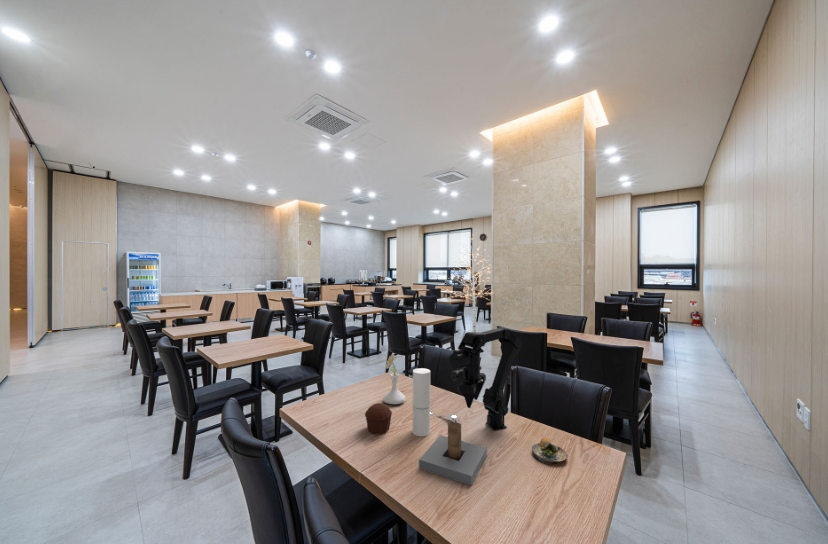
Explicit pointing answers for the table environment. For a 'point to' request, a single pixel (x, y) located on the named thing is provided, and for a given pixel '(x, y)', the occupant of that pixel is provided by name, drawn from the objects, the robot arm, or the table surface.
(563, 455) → the plate of food
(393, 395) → the flower in vase
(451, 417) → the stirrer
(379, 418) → the muffin
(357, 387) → the table surface
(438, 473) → the hub plate
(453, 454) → the walnut peg
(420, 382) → the cylindrical container
